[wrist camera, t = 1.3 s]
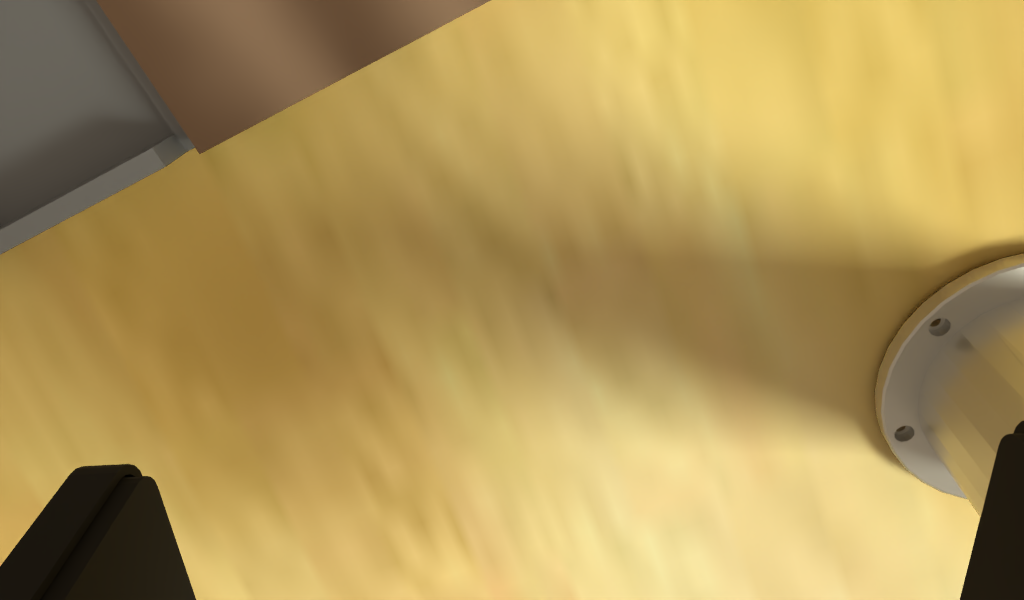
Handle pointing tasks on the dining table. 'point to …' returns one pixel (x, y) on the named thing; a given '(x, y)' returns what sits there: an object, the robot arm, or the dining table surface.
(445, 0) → the flat wooden board
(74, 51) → the tray
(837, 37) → the dining table surface
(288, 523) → the dining table surface
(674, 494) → the dining table surface
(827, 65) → the dining table surface
